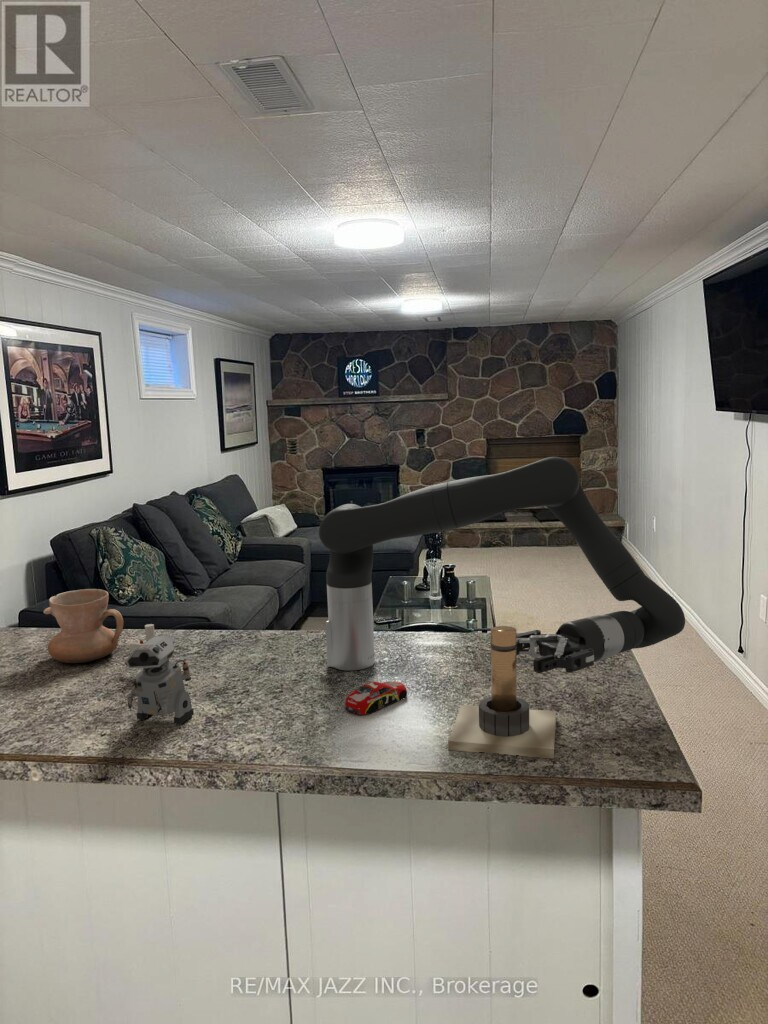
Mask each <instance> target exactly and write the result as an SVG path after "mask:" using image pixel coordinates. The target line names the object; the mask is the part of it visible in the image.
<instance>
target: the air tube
mask: <svg viewBox="0 0 768 1024" xmlns="http://www.w3.org/2000/svg"><path fill="white" fill-rule="evenodd" d="M516 634H517V628H515V627H512V626H507V625H498V626H494V627H492V628H490V642H489V644H490V645H489V647H490V662H491V663H490V668H491V669H490V670H491V671H490V673H491V674H490V675H491V677H490V678H491V679H490V680H491V681H490V683H491V691H490V692H491V696H492V710H494V711H497V712H512V711H516V710H517V697H518V695H517V693H518V692H517V687H518V686H517V685H518V684H517V681H518V680H517V677H518V676H517V674H518V673H517V664H518V663H517V659H518V657H517V655H516V649H517V642H516Z"/></svg>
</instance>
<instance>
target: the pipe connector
mask: <svg viewBox="0 0 768 1024" xmlns="http://www.w3.org/2000/svg"><path fill="white" fill-rule="evenodd" d="M144 631H145V632H144V634H145V642H146V641H148V640H150V639H151V638H153V637H154V636H156V633H155V624H154V623H153V624H152V623H150V624H149V623H147V624H145V625H144ZM141 645H142V644H140V642H135V641H134V642H133V641H132V642H130V643H129V646H128V648H129V651H131V652H133V651H134V650H135V649H136V648H138V647H139V646H141Z"/></svg>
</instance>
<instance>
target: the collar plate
mask: <svg viewBox="0 0 768 1024" xmlns="http://www.w3.org/2000/svg"><path fill="white" fill-rule="evenodd" d="M457 713H458V714H457V716H456V719H455V721H454V725H453V727H452V729H451V733H450V735H449V737H448V741H447V746H448V747H447V750H448V751H455V752H457V751H458V752H468V753H479V752H485V753H484V754H491V753H499V754H498V755H503V754H509V755H508V756H516V755H519V756H518V757H528V758H530V757H531V758H540V757H541V758H542V759H551V760H552V759H554V757H555V745H556V731H555V730H556V727H557V711H555V710H543V709H542V710H540V709H530V703H529V702H528V701H526V700H525V699H523V698H520V697H518V696H517V710H516V711H512V712H497V711H494V710H492V695H491V696H487V697H485V698H483V699H480V701H479V704H478V705H467V704H461V705H460V708H459V711H458V712H457Z"/></svg>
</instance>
